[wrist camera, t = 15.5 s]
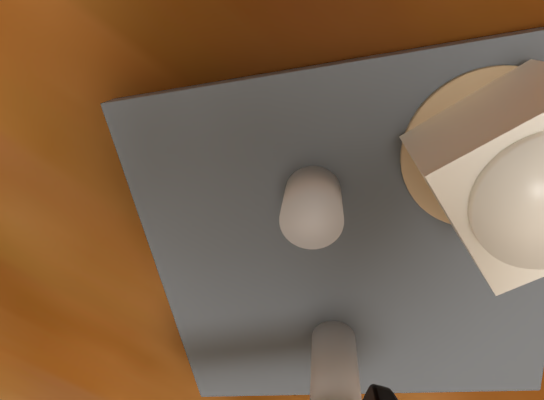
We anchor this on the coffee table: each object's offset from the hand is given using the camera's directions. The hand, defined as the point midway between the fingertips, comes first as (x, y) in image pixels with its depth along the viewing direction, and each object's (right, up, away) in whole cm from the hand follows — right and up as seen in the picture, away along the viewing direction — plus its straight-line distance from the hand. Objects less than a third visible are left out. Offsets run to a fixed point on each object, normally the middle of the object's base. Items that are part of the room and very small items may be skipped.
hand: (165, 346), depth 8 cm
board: (+6, +1, +12) cm, 14 cm away
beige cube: (+11, +5, +8) cm, 15 cm away
